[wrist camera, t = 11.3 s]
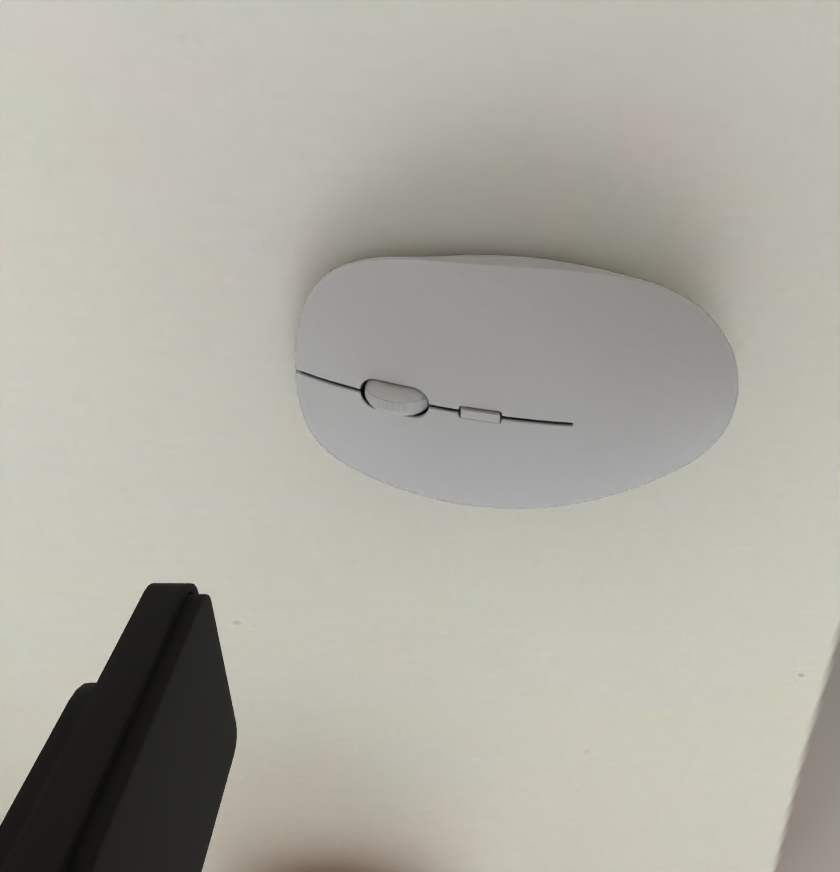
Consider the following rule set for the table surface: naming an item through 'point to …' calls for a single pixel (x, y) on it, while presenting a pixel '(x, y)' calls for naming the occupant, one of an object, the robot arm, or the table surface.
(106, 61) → the table surface
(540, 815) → the table surface
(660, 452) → the computer mouse
